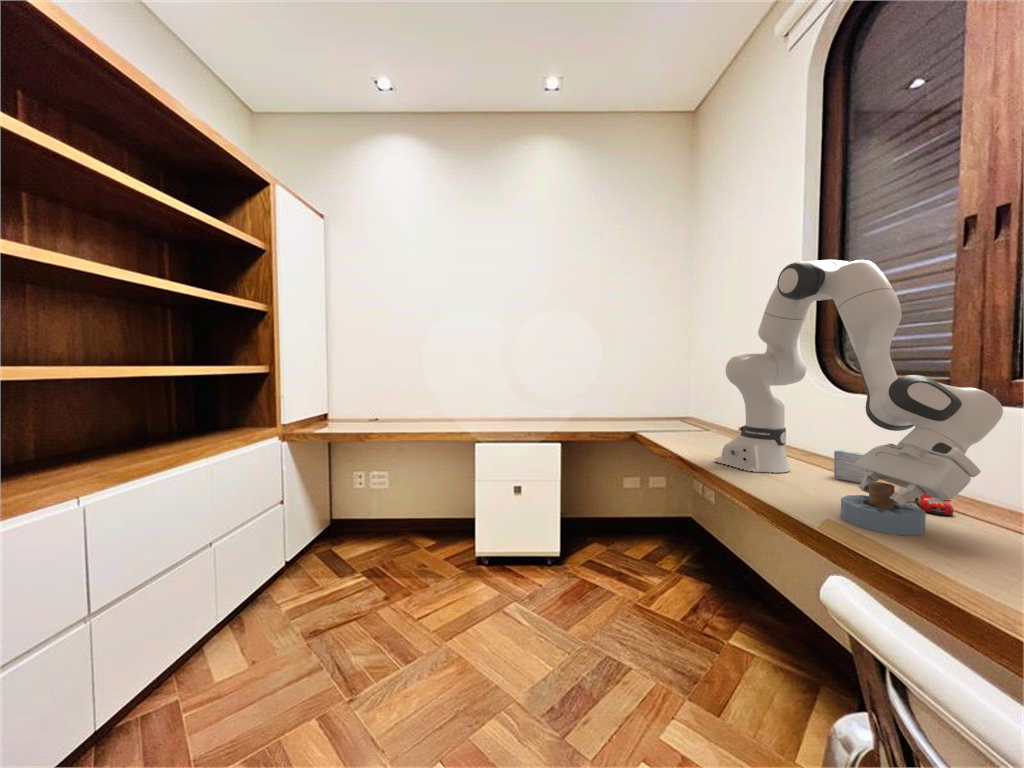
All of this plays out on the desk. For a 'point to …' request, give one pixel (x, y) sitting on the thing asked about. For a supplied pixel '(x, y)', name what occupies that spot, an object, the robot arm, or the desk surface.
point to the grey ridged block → (847, 465)
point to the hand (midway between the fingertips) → (877, 495)
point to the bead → (883, 516)
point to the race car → (934, 505)
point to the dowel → (881, 495)
